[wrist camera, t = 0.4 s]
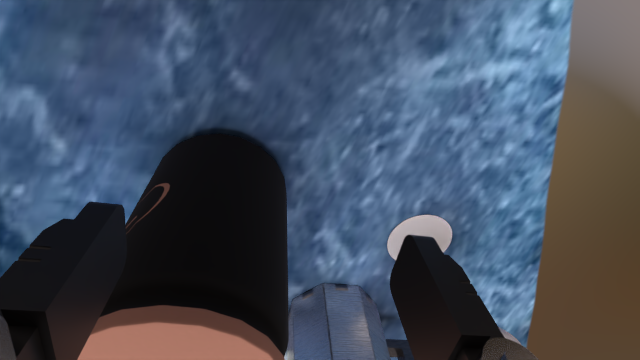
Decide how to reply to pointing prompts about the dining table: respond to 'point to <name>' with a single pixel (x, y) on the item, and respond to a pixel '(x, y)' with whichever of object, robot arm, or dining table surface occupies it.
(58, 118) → the dining table surface
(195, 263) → the coffee jar
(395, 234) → the champagne flute
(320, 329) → the press pot
